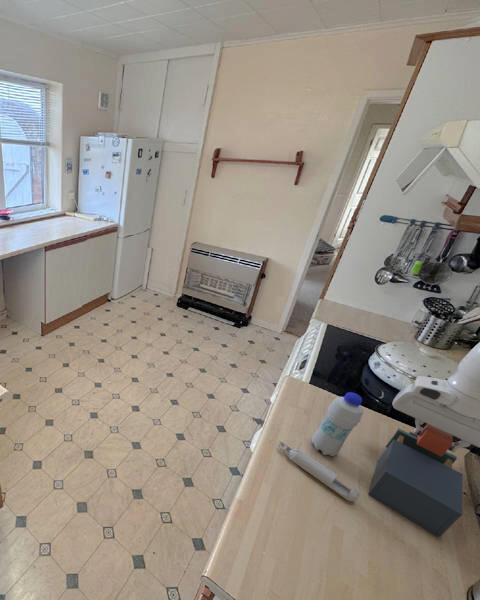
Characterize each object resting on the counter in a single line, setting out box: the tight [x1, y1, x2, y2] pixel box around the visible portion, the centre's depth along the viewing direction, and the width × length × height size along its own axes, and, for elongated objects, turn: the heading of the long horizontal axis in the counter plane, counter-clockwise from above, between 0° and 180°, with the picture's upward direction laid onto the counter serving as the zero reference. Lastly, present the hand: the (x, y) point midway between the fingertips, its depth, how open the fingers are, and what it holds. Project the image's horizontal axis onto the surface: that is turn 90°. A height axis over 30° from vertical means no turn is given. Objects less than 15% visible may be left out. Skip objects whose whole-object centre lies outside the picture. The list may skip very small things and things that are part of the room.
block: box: [417, 423, 454, 457], centre depth 81 cm, size 5×5×5 cm
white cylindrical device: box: [278, 441, 360, 502], centre depth 81 cm, size 18×5×7 cm, turn 37°
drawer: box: [385, 428, 458, 469], centre depth 84 cm, size 18×11×7 cm, turn 132°
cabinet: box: [367, 439, 463, 538], centre depth 77 cm, size 15×13×9 cm
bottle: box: [311, 391, 364, 457], centre depth 86 cm, size 7×7×20 cm
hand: (432, 441), depth 81 cm, fingers closed on block, 4 cm apart
